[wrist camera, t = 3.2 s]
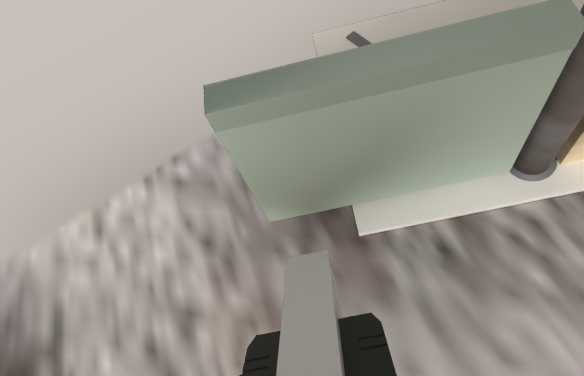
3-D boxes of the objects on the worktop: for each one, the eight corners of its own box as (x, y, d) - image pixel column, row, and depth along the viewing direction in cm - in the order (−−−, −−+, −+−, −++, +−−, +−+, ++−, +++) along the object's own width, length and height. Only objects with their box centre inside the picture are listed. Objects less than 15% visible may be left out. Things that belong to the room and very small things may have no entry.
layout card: (659, -49, 26) (664, -57, 26) (842, 138, 19) (852, 132, 18) (312, 38, 28) (311, 32, 28) (359, 236, 21) (358, 232, 21)
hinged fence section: (499, 150, 21) (568, -5, 13) (509, 172, 20) (588, 22, 13) (266, 200, 22) (203, 85, 14) (269, 223, 22) (204, 115, 14)
